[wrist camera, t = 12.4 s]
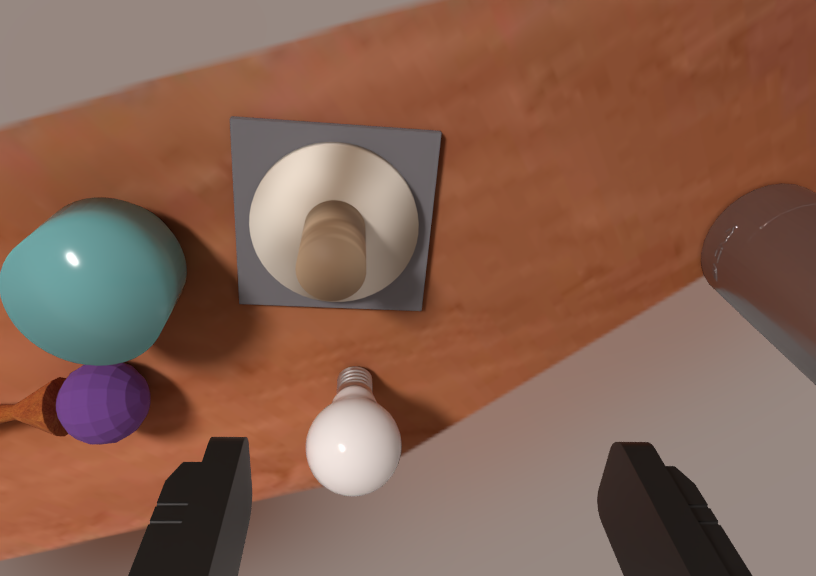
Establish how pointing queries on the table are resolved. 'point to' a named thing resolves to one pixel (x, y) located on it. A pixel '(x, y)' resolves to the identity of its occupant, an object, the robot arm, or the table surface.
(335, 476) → the lightbulb
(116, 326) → the teal rounded dome
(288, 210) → the lid
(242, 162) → the mat
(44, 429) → the kendama
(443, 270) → the table surface
